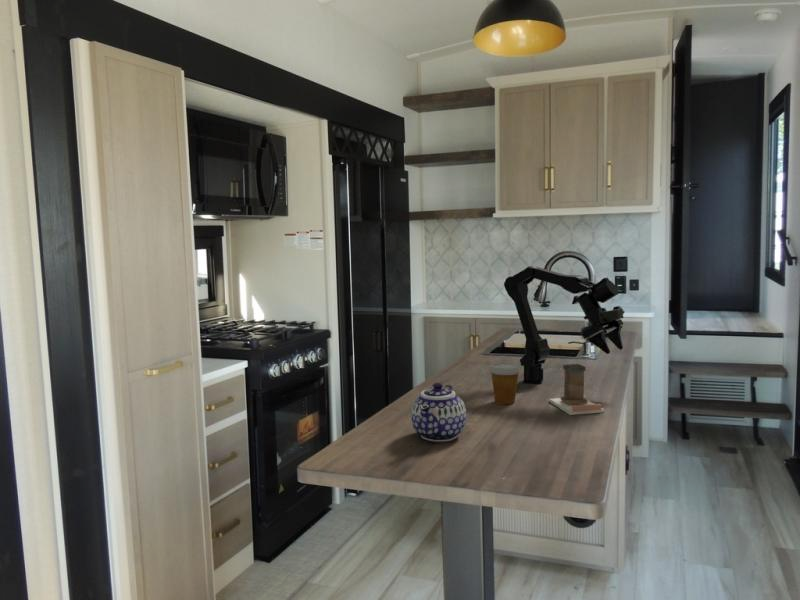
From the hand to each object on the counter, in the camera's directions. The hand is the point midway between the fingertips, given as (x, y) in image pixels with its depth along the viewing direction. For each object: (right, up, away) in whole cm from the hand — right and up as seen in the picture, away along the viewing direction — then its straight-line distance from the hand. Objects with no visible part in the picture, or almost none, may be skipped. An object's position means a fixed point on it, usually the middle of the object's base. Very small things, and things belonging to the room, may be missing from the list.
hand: (615, 351), depth 219 cm
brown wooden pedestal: (-16, -15, -10) cm, 24 cm away
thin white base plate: (-16, -17, -11) cm, 25 cm away
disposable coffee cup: (-37, -16, -4) cm, 41 cm away
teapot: (-60, -20, -37) cm, 73 cm away
